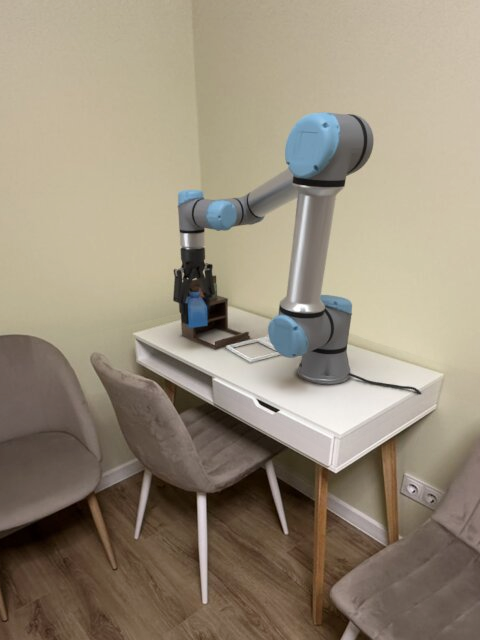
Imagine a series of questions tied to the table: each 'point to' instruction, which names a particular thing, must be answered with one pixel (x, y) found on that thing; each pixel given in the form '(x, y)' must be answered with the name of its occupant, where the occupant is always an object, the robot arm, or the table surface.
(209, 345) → the desk rack
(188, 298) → the perfume bottle
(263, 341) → the photo frame
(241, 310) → the table surface
